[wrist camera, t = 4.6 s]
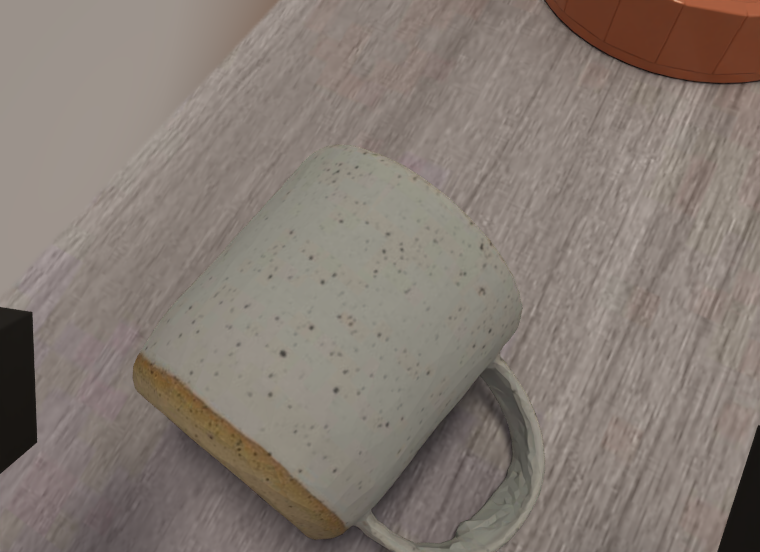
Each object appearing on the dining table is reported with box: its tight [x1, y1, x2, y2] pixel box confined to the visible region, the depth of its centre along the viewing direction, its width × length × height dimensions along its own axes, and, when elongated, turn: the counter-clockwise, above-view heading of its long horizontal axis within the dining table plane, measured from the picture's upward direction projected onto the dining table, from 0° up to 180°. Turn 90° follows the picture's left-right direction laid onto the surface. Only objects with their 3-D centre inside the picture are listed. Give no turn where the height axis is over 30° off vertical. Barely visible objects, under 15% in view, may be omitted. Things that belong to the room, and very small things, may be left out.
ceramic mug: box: [133, 145, 545, 552], centre depth 17 cm, size 11×8×8 cm
